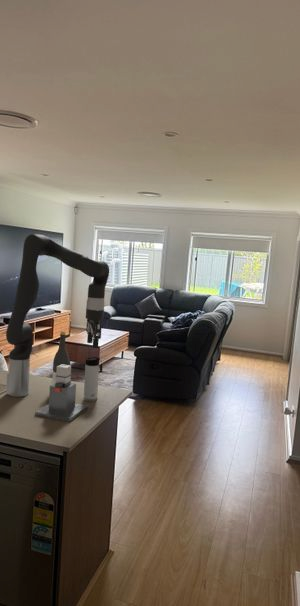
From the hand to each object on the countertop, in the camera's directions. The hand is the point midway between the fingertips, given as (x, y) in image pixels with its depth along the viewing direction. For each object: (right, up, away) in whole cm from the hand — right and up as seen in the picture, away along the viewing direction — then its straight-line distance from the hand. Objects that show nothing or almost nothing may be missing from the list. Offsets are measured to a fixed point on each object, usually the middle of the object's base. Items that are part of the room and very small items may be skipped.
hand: (92, 345), depth 177 cm
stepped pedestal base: (-13, -28, -2) cm, 31 cm away
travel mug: (-3, -27, +16) cm, 32 cm away
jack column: (-13, -26, -2) cm, 29 cm away
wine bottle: (-19, -25, +23) cm, 39 cm away
